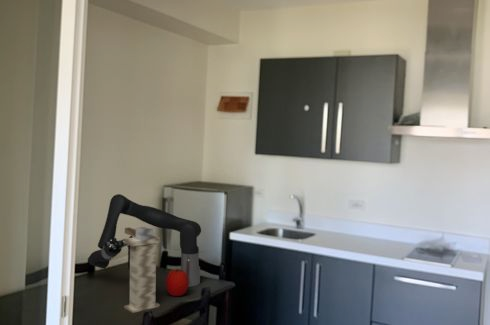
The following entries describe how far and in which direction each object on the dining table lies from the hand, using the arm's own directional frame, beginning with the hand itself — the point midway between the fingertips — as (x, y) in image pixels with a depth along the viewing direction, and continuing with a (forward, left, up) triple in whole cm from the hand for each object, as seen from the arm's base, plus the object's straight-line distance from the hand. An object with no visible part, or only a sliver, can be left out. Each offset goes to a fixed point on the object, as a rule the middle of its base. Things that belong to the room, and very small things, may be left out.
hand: (124, 238), depth 250 cm
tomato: (-22, +13, -29) cm, 39 cm away
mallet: (0, +12, +3) cm, 12 cm away
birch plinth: (0, +18, -29) cm, 34 cm away
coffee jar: (-29, -40, -29) cm, 57 cm away
